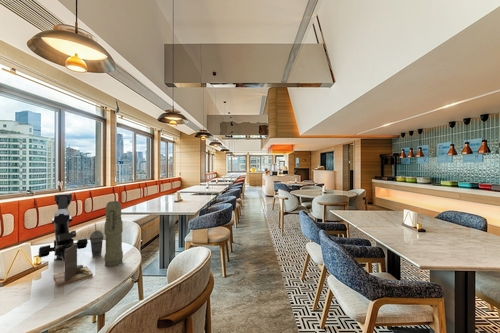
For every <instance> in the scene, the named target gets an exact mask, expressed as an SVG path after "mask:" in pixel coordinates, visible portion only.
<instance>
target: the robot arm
mask: <svg viewBox="0 0 500 333" xmlns="http://www.w3.org/2000/svg"><path fill="white" fill-rule="evenodd" d="M72 201H73V193H70V192H67V193H66V192H65V193H57V194H55V195H54V202H55V203H56V206H57V210H56V212H55V213H54V217H52V221H51V223H52V224H51V225H54V236H55V239H54V240H53V246H52V247H51V245H50V244H48V245H47V244H46V245H44V246H43V245H42V246H40V247H39V248H38V258H40V259H41V258H45V257H48V256H49V255H50V253H52V252H54V256H55V258H53V261H63V262H64V250H66V249H68V248H69V247H71V246H72V245H74V244H77V250H82V249H85V248H87V247H88V246H87V245H88V238H86V237H85V238H80V239H79V238H78V239H77V242H74V238H76V237H77V232H76V230H71V231H70V228H69V225H70V223H72V221H73V216H72V215H70V211H69V210H68V208H69V206H70V205H71V203H72Z"/></svg>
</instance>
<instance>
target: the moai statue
mask: <svg viewBox="0 0 500 333" xmlns="http://www.w3.org/2000/svg"><path fill="white" fill-rule="evenodd" d="M123 224H124V223H123V220H122V203H121V202H120V201H118V200H115V201H109V202H107V203H106V206H105V222H104V224H103V225H104V231H103V232H104V233H103V235H104V236H105V254H104V255H103V256H104V266H105V267H106V268H114V267H117V266H120V265H122V264H123V263H124V262H123V258H124V251H123V246H122V245H123V242H122V241H123V240H122V239H123V237H122V235H123V234H122V233H123V230H124V229H123V227H124V226H123Z"/></svg>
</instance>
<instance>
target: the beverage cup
mask: <svg viewBox="0 0 500 333" xmlns="http://www.w3.org/2000/svg"><path fill="white" fill-rule="evenodd" d="M104 237H105V235H104V233H103V232H102V231H101V230H99V229H98V230H97V226H96V223H94V231H92V232H91V234H90V235H89V241H90V248H91V256H92V258H98V257H101V256H102V250H103V240H104Z"/></svg>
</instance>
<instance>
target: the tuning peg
mask: <svg viewBox="0 0 500 333" xmlns="http://www.w3.org/2000/svg"><path fill="white" fill-rule="evenodd" d="M63 264H64V272H65V281H68V280H69V279H70V278H71V277H72V276H74V275H75V274H76V273H77V272H80V271H81V272H85V273H90V271H91V270H90V269H89V270H87V269H83V267H84V264H79V265H78V249H77V244H74V245H72V246H71V247H69V248H68V249H66V250H64V261H63Z"/></svg>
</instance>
